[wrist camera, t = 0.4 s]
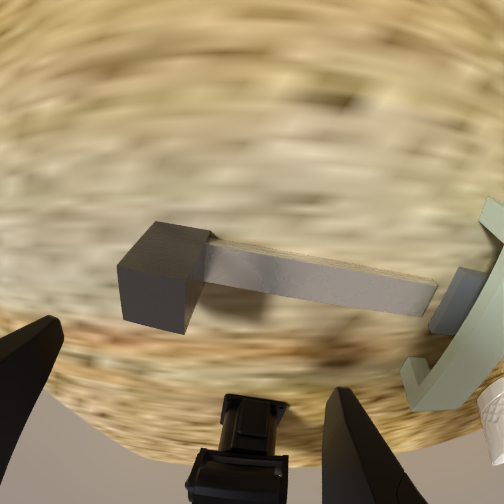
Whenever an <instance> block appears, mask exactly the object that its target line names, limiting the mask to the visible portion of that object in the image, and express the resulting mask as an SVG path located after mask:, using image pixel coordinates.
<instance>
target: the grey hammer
mask: <svg viewBox="0 0 504 504" xmlns="http://www.w3.org/2000/svg"><path fill="white" fill-rule="evenodd" d="M210 232H211V231H209V230H203V229H198V228H192V227H186V226H181V225H175V224H169V223H163V222H157V221H155V222H154V223H153V225H152V226H151V227H150V228H149V229H148V230H147V231H146V232H145V233H144V235H143V236H142V237H141V238H140V239H139V240H138V241H137V242H136V244H135V245H134V246H133V247H132V248H131V249H130V251H129V252H128V253H127V254H126V255H125V256H124V258H123V259H122V260H121V261H120V262H119V263H118V265H117V274H118V283H119V292H120V300H121V307H122V314H123V320H126V321H130V322H134V323H137V324H141V325H145V326H149V327H153V328H157V329H161V330H165V331H169V332H173V333H178V334H182V335H185V332H186V329H187V327H188V324H189V322H190V319H191V316H192V314H193V311H194V309H195V306H196V304H197V301H198V298H199V296H200V293H201V291H202V288H203V286H204V283H205V282H210V283H215V284H220V285H225V286H231V287H236V288H241V289H247V290H252V291H258V292H263V293H269V294H274V295H280V296H286V297H292V298H298V299H303V300H310V301H316V302H322V303H328V304H334V305H341V306H347V307H354V308H360V309H367V310H374V311H381V312H388V313H395V314H403V315H410V316H418V317H421V316H422V314H423V312H424V310H425V308H426V307H427V305H428V303H429V301H430V299H431V297H432V295H433V293H434V291H435V289H436V287H437V285H436V284H435V282H434V280H433V279H431V278H426V277H420V276H415V275H410V274H405V273H400V272H394V271H389V270H384V269H379V268H373V267H368V266H363V265H357V264H352V263H347V262H341V261H336V260H331V259H325V258H320V257H315V256H309V255H304V254H299V253H293V252H288V251H282V250H277V249H271V248H266V247H261V246H255V245H250V244H244V243H239V242H233V241H228V240H222V239H217V238H211V237H210Z"/></svg>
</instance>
